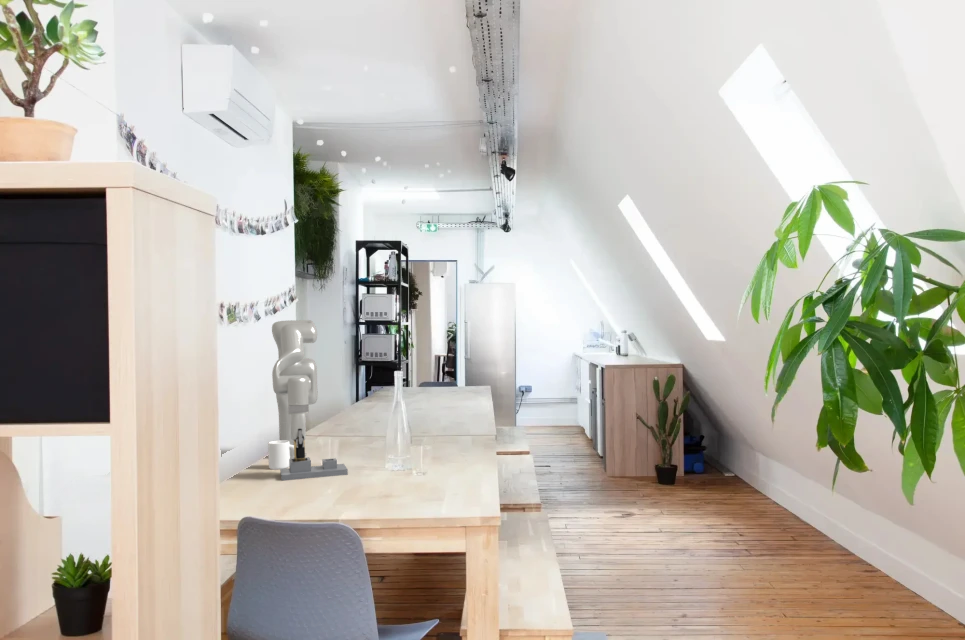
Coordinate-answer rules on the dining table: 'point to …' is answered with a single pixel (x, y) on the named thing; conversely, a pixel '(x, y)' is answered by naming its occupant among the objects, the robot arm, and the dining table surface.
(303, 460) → the pipe stub
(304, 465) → the fitting block
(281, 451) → the mug
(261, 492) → the dining table surface
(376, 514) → the dining table surface
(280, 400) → the robot arm
